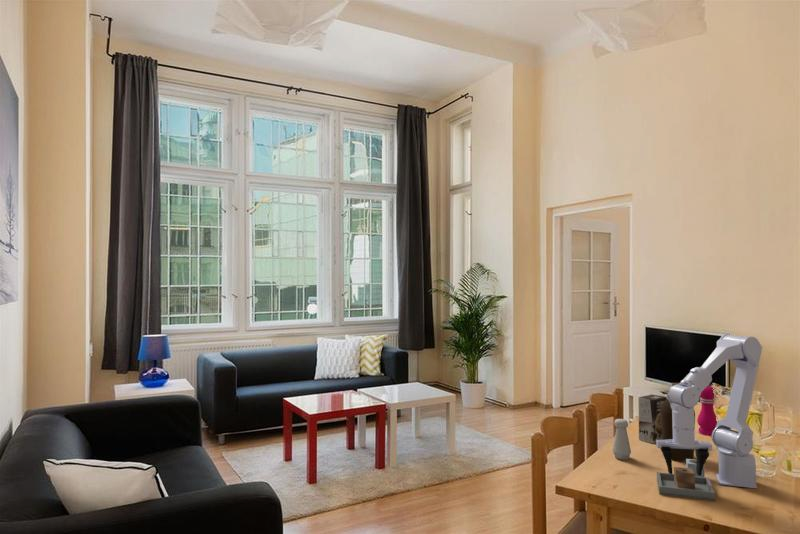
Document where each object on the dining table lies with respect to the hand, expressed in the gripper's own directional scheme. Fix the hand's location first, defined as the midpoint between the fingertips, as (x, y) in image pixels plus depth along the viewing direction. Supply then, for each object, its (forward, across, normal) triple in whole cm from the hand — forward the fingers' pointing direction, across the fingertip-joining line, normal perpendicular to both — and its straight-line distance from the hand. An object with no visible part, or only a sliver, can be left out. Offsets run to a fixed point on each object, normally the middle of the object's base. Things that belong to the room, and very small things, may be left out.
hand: (684, 473), depth 163 cm
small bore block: (+4, 0, 0) cm, 4 cm away
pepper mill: (+5, -23, -60) cm, 65 cm away
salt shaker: (+5, +14, -25) cm, 29 cm away
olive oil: (+5, -5, -30) cm, 30 cm away
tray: (+5, 0, 0) cm, 5 cm away
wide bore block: (+5, -5, -10) cm, 13 cm away
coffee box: (+5, -1, -48) cm, 49 cm away
